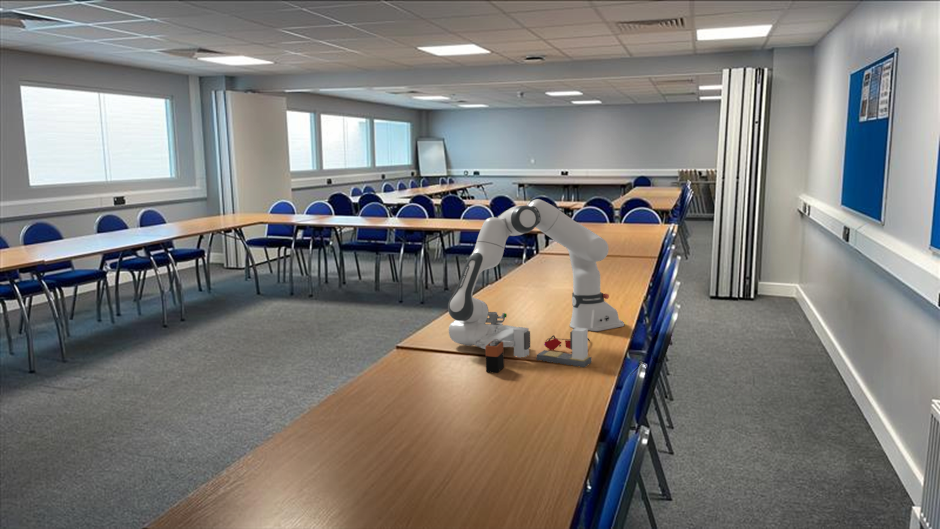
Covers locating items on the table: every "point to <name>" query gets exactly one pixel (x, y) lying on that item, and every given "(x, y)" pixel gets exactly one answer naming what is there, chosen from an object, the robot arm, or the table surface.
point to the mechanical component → (495, 318)
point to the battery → (494, 356)
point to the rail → (562, 358)
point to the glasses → (556, 343)
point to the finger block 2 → (579, 343)
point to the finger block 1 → (521, 341)
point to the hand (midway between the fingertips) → (520, 340)
